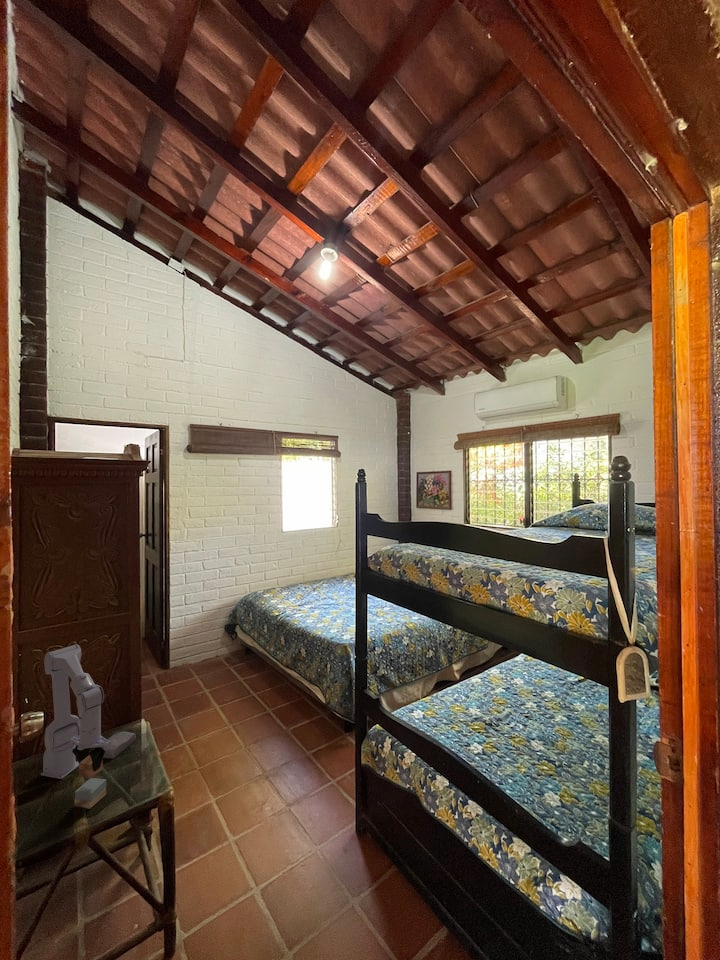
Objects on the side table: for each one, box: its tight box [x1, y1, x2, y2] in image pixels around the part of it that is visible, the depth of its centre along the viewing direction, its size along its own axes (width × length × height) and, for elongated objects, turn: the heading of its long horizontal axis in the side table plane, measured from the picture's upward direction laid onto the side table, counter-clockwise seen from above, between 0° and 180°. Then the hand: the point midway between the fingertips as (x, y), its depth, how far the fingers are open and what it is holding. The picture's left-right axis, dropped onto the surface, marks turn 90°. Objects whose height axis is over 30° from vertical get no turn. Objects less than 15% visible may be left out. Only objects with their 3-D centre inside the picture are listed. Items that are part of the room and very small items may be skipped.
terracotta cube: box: [78, 755, 104, 780], centre depth 128 cm, size 4×4×4 cm
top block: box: [74, 777, 107, 801], centre depth 128 cm, size 6×6×2 cm
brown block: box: [74, 787, 107, 810], centre depth 127 cm, size 6×6×2 cm
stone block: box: [103, 731, 137, 760], centre depth 153 cm, size 12×5×10 cm
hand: (90, 768), depth 128 cm, fingers closed on terracotta cube, 4 cm apart
